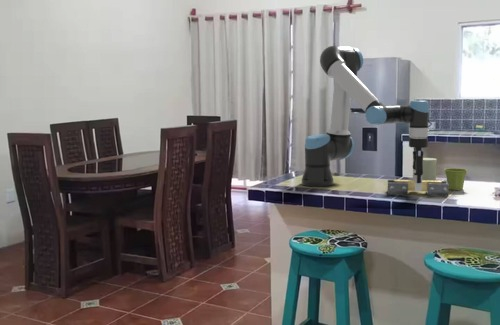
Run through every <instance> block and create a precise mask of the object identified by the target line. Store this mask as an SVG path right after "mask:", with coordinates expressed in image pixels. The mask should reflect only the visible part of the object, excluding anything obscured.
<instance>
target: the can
mask: <svg viewBox="0 0 500 325" xmlns="http://www.w3.org/2000/svg"><path fill="white" fill-rule="evenodd" d="M437 160H438V159H437V158H436V157H435V158H433V157H423V174H422V180H435V181H437V163H438V162H437Z"/></svg>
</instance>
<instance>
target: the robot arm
mask: <svg viewBox="0 0 500 325" xmlns="http://www.w3.org/2000/svg"><path fill="white" fill-rule="evenodd" d="M319 63H320V67H321V69H322V70H323V72H324V73H325V74H326V75H327V76H328V77H329V78H333V79H334V83H333V93H332V102H331V103H332V106H331V114H330V125H329V129H328V130H326V133H319V134H313V135H309V136H307V137H305V139H304V140H305V142H304V161H305V162H304V170H303V175H302V177H301V185H302V186H305V187H318V188H321V187H329V186H333V185H334V178H333V174H332V170H331V161H336V160H338V161H339V160H344V159H347V158H348V157H350V156H351V155H352V154H353V152H354V149H355V142H354V139H353V137H351V135H352V134H351V132H350V131H349V122H350V112H351V102H352V99H353V101H354V102H355V103H356V105H358V106H359V107H360V108H361V109H362V111H364V113H365V118H366V121H367V123H369V124H370V125H378V126H379V125H386V124H388V125H389V124H399V123H400V124H408V125H409V126H408V127H409V128H408V137H409V139H408V147H410V148H413V151H412V180H415V191H414V192H423V191H422V174H423V158H424V151H423V150H422V149H423V148H428V146H429V145H428V144H429V139H428V137H429V133H430V129H429V114H430V107H429V105H430V104H429V101H428V100H410V102H409V105H406V104H405V105H402V104H401V105H400V104H391V105H384V104H383V103H382V102H381V101H380V100H379V99H378V98H377V97H376V96H375V94H374V93H372V92H371V91H370V90H369V88H368V87H367V86H366V85H365V84H364V83H363V82H362V81H361V80H360V79H359V78H358V72H359V71H360V70H361V69H362V67H363V66H364V57H363V54H362V52H361V51H360V49H358V48H357V47H353V46H344V45H343V46H342V45H341V46H340V45H330V46H327V47H326V48H325V49H323V51H322V52H321V54H320V57H319Z"/></svg>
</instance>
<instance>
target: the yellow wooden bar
mask: <svg viewBox="0 0 500 325" xmlns="http://www.w3.org/2000/svg"><path fill="white" fill-rule="evenodd" d="M393 180H394V183H408V192H412V191H413V192H416V191H415V180H413V179H393ZM442 181H443V180H436V181H435V180H422V191H421V192H426V191H428V183H437V184H442Z"/></svg>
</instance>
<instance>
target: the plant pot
mask: <svg viewBox="0 0 500 325" xmlns="http://www.w3.org/2000/svg"><path fill="white" fill-rule="evenodd" d="M443 170H444V172H445V175H446V176H445V177H446V181H447V184H449V190H453V191H461V190H463V189H464V183H465V178H466V175H467V172H468V169H465V168H451V167H450V168H444V169H443Z"/></svg>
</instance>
